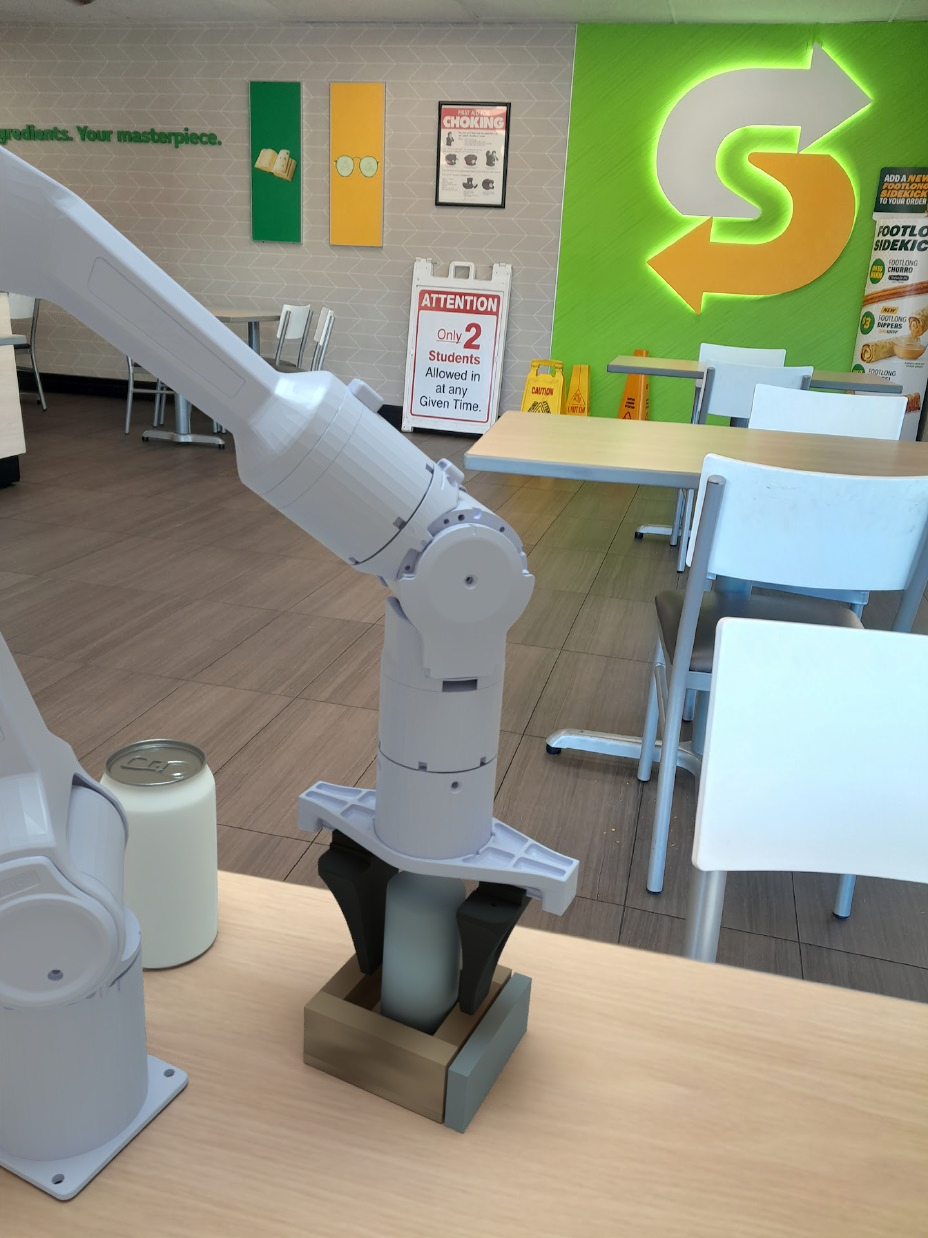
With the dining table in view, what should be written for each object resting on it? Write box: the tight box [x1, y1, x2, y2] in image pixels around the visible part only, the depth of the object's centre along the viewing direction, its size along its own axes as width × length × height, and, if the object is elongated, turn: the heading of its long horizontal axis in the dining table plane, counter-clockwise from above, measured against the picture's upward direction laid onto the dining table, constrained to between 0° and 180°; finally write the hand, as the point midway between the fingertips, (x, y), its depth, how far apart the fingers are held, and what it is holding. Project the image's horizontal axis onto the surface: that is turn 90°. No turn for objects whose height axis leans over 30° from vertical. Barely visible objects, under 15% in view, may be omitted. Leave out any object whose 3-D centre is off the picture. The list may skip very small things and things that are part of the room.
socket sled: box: [302, 952, 513, 1124], centre depth 52 cm, size 8×8×4 cm
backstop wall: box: [443, 971, 533, 1135], centre depth 51 cm, size 1×8×4 cm, turn 154°
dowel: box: [380, 870, 467, 1036], centre depth 51 cm, size 4×4×9 cm
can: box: [99, 738, 219, 970], centre depth 58 cm, size 6×6×12 cm
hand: (423, 982), depth 51 cm, fingers open, 5 cm apart
